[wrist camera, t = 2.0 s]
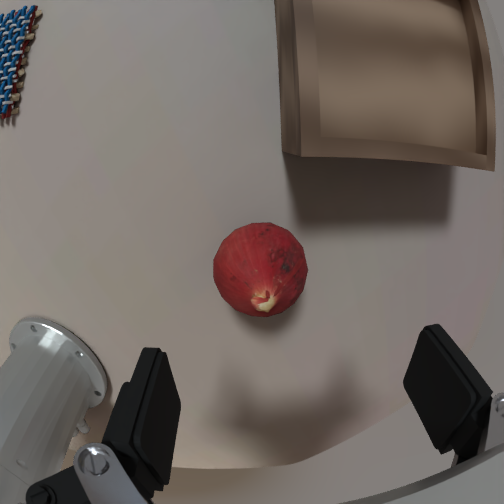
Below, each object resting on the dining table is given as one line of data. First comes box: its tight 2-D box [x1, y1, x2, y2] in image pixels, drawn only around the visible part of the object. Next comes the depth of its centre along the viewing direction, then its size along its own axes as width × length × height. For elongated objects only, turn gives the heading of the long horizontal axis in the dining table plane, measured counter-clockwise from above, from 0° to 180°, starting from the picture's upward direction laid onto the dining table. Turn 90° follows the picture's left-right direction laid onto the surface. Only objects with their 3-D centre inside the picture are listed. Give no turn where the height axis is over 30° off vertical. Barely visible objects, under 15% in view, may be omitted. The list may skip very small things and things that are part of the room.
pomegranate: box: [213, 223, 308, 317], centre depth 19 cm, size 6×6×8 cm
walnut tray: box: [274, 0, 496, 171], centre depth 15 cm, size 14×14×6 cm
